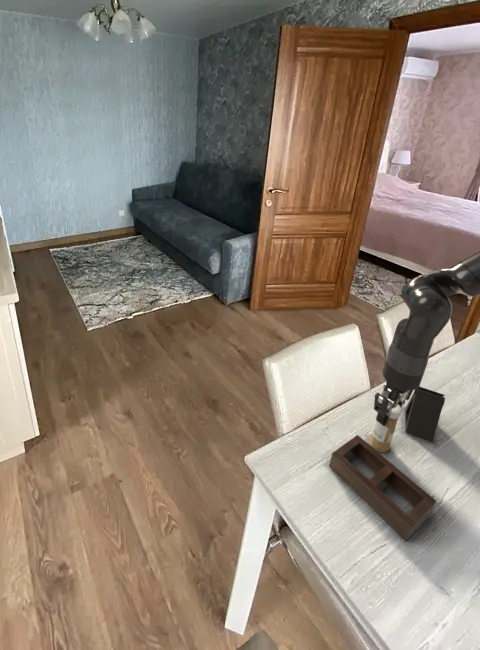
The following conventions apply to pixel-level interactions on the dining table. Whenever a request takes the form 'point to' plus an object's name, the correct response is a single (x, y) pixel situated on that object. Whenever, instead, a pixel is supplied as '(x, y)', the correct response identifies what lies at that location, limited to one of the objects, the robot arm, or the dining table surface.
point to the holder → (382, 486)
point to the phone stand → (423, 413)
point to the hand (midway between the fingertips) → (387, 417)
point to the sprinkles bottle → (385, 431)
